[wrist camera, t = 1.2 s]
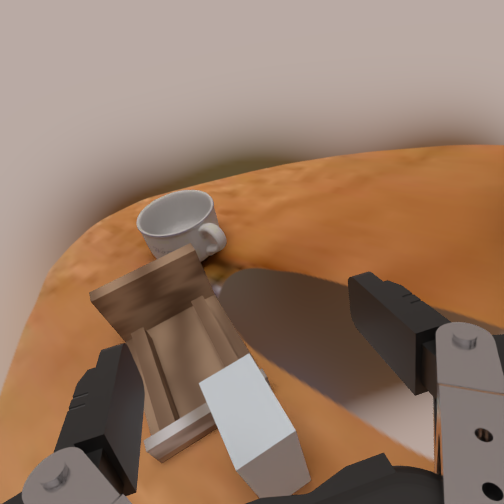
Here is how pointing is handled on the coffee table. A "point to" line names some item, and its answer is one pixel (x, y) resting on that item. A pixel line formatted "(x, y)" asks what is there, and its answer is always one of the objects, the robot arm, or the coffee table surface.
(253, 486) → the tall grey pillar
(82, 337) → the coffee table surface
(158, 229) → the teacup
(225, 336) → the track block
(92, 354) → the coffee table surface
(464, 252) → the coffee table surface
